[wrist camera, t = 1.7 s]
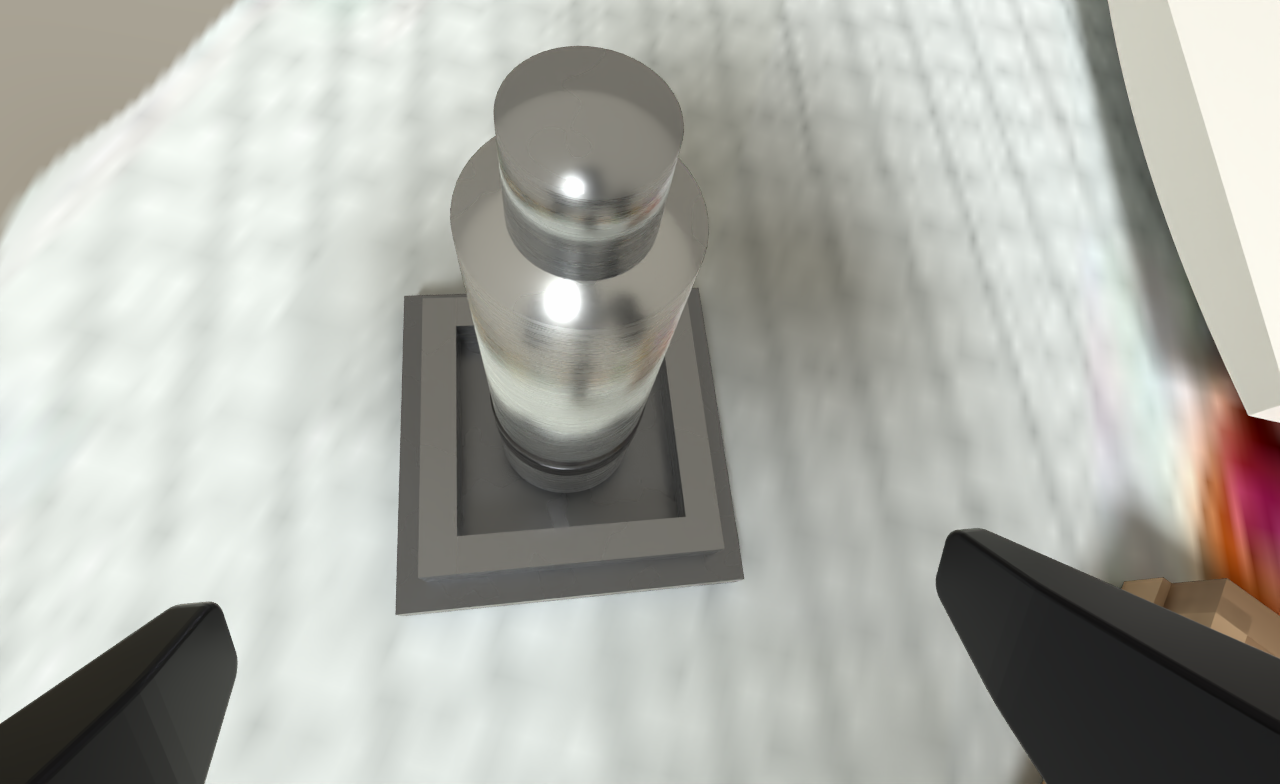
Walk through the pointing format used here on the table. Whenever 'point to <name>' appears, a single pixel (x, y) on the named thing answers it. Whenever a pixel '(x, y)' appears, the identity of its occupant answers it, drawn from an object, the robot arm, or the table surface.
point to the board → (1216, 164)
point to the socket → (542, 520)
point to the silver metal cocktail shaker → (577, 257)
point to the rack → (1215, 609)
